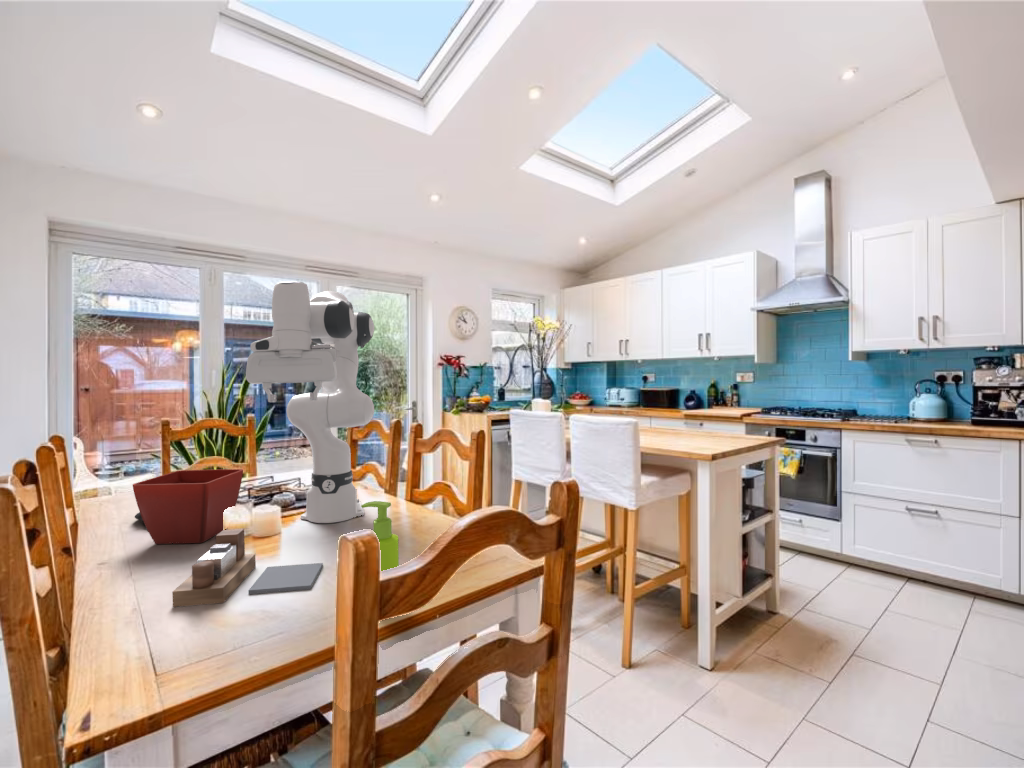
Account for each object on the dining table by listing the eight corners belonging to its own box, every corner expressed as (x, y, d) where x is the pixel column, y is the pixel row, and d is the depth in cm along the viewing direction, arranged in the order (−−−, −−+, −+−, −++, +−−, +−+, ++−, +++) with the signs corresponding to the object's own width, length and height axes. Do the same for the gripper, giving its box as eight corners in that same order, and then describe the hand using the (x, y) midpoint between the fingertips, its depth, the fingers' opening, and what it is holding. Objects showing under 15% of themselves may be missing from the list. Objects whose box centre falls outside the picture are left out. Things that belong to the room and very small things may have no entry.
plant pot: (180, 525, 142) (178, 469, 142) (245, 524, 143) (244, 468, 142) (131, 549, 123) (129, 484, 122) (207, 548, 124) (206, 483, 123)
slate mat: (267, 570, 109) (267, 566, 109) (322, 566, 111) (322, 562, 111) (248, 594, 97) (248, 590, 97) (310, 589, 100) (310, 585, 100)
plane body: (213, 569, 110) (212, 530, 110) (255, 566, 112) (254, 528, 111) (172, 607, 92) (171, 560, 92) (223, 602, 94) (222, 557, 94)
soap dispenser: (370, 597, 96) (369, 497, 95) (403, 599, 95) (402, 499, 94) (356, 611, 90) (355, 506, 90) (391, 614, 89) (390, 507, 89)
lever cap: (214, 564, 105) (214, 542, 105) (236, 562, 106) (235, 541, 106) (197, 579, 98) (197, 556, 97) (221, 577, 98) (220, 554, 98)
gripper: (338, 346, 123) (339, 400, 122) (252, 348, 119) (252, 403, 118) (334, 342, 117) (336, 398, 116) (243, 343, 113) (243, 402, 112)
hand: (293, 401), depth 117 cm, fingers open, 8 cm apart
